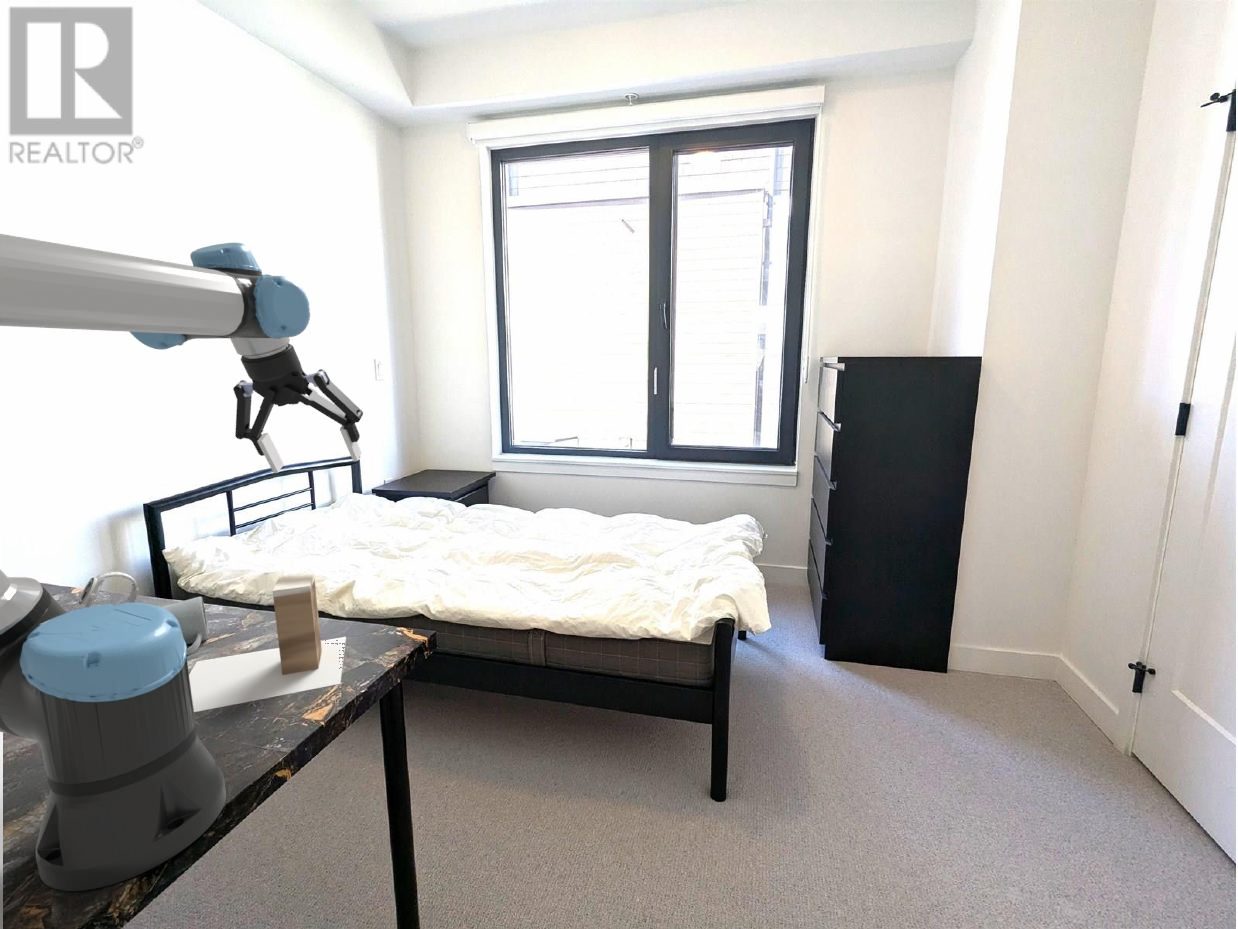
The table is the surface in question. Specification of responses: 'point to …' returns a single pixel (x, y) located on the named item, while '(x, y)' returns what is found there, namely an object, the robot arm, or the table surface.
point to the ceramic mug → (191, 621)
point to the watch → (96, 584)
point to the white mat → (259, 677)
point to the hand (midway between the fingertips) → (318, 463)
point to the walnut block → (297, 623)
